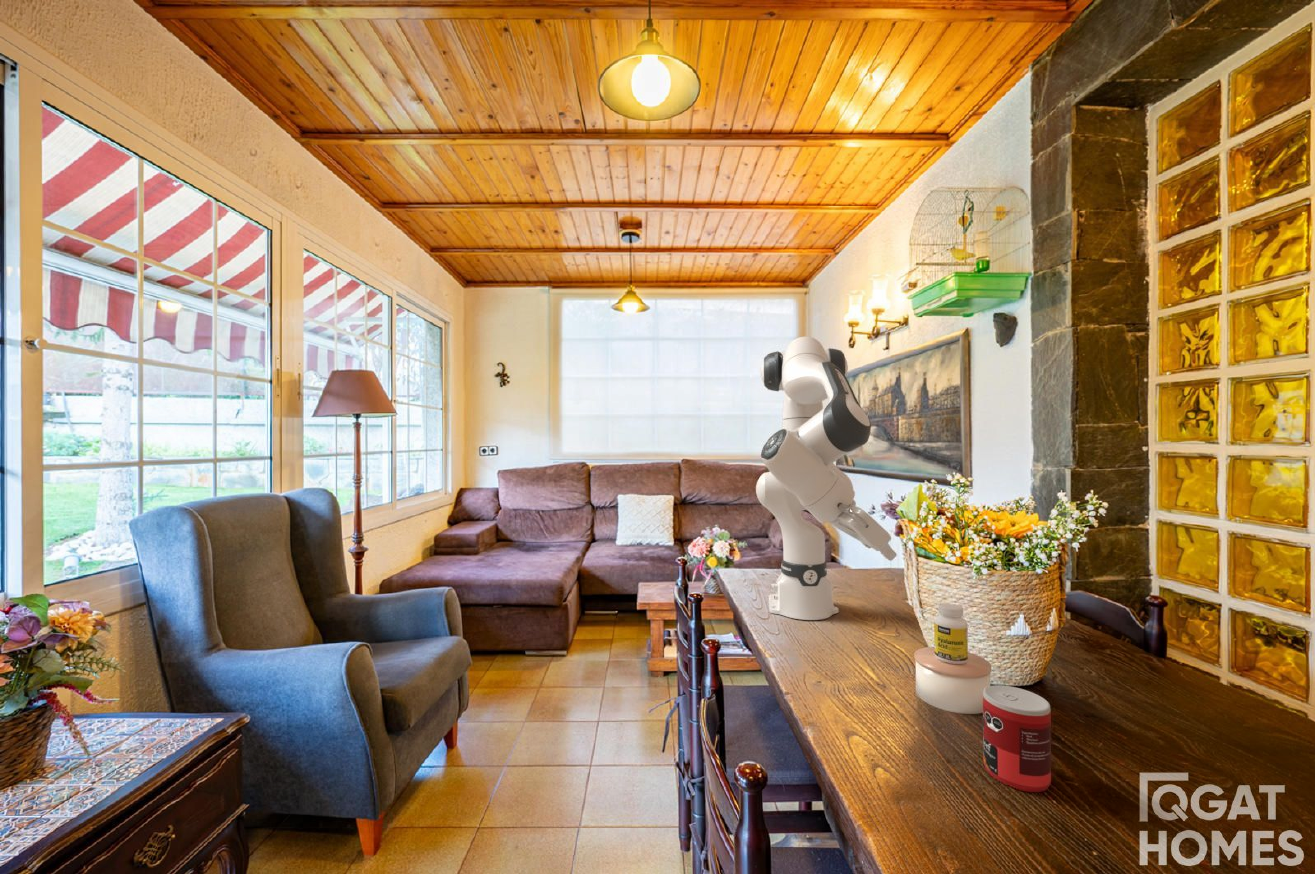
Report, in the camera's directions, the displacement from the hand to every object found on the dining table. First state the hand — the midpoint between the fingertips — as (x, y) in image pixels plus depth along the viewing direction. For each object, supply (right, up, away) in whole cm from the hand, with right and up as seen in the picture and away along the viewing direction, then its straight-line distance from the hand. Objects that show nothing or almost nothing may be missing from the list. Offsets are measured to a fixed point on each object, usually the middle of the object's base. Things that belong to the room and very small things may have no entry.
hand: (881, 551), depth 103 cm
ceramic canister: (+11, -26, -4) cm, 29 cm away
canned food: (+8, -26, -27) cm, 38 cm away
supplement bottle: (+11, -19, -4) cm, 23 cm away
